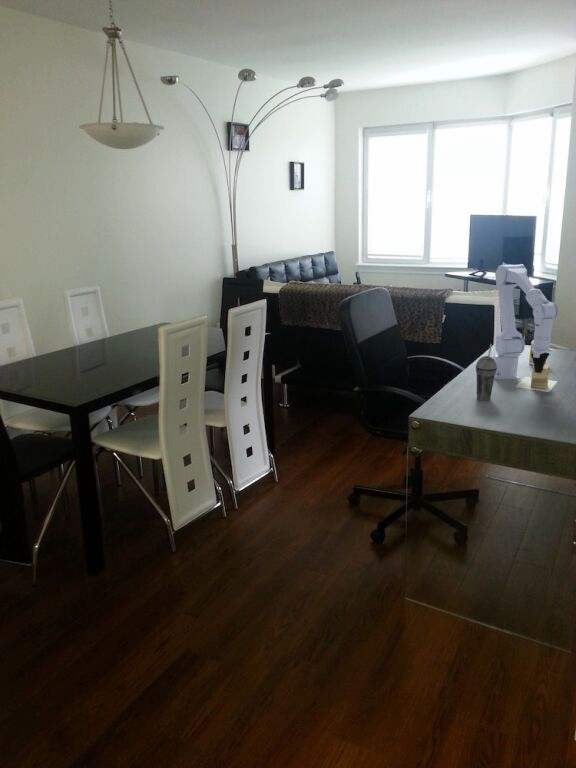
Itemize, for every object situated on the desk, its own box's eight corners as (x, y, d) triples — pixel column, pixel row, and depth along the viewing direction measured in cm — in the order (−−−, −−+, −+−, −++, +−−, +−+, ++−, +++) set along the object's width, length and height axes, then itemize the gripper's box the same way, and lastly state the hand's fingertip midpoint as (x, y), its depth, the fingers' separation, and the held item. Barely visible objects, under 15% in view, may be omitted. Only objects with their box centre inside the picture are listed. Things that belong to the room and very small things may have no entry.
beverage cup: (468, 396, 221) (473, 342, 215) (485, 394, 224) (490, 341, 218) (481, 402, 215) (485, 347, 209) (498, 400, 217) (503, 345, 211)
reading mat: (548, 392, 225) (548, 392, 225) (515, 387, 231) (515, 386, 231) (557, 381, 237) (557, 381, 237) (525, 377, 244) (525, 376, 244)
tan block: (544, 389, 228) (547, 368, 225) (530, 387, 230) (532, 366, 228) (547, 385, 232) (549, 365, 229) (533, 383, 234) (535, 363, 232)
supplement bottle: (526, 362, 265) (529, 333, 261) (542, 362, 265) (545, 333, 261) (532, 366, 259) (535, 336, 255) (547, 366, 259) (551, 336, 255)
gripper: (549, 341, 214) (545, 378, 218) (558, 333, 225) (553, 369, 229) (528, 339, 217) (524, 375, 221) (538, 331, 229) (534, 366, 233)
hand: (538, 372), depth 226 cm, fingers closed
